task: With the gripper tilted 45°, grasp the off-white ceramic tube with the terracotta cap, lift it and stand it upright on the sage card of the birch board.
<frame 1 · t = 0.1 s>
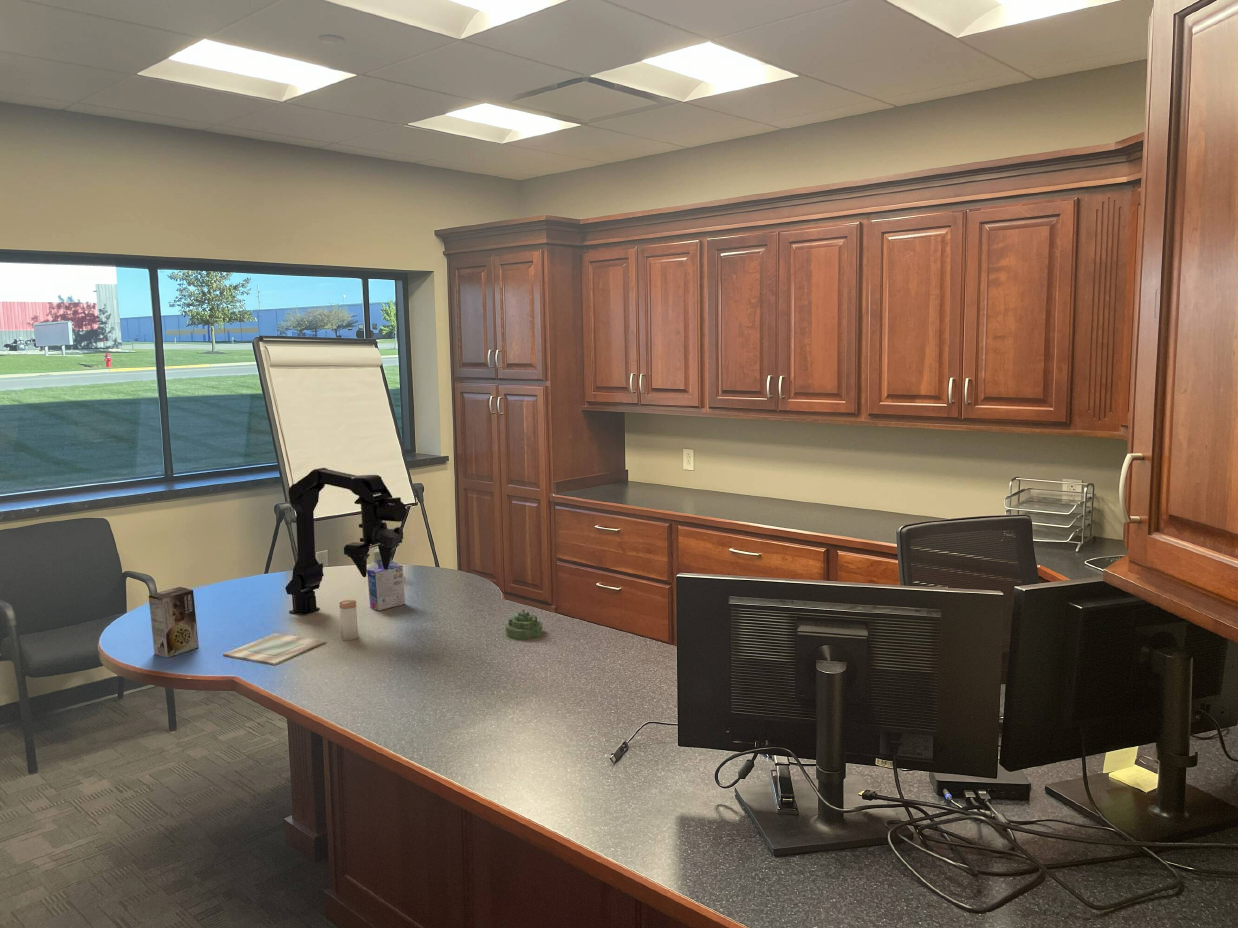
hand: (375, 573, 258), 15 cm above the table, tool pointing down, fingers open, 9 cm apart
air freshener: (383, 578, 309), on the table
tube: (349, 637, 246), on the table
ink cartridge box: (387, 606, 276), on the table
target board: (275, 649, 238), on the table
decorative artifact: (524, 634, 247), on the table
brown food box: (176, 651, 238), on the table
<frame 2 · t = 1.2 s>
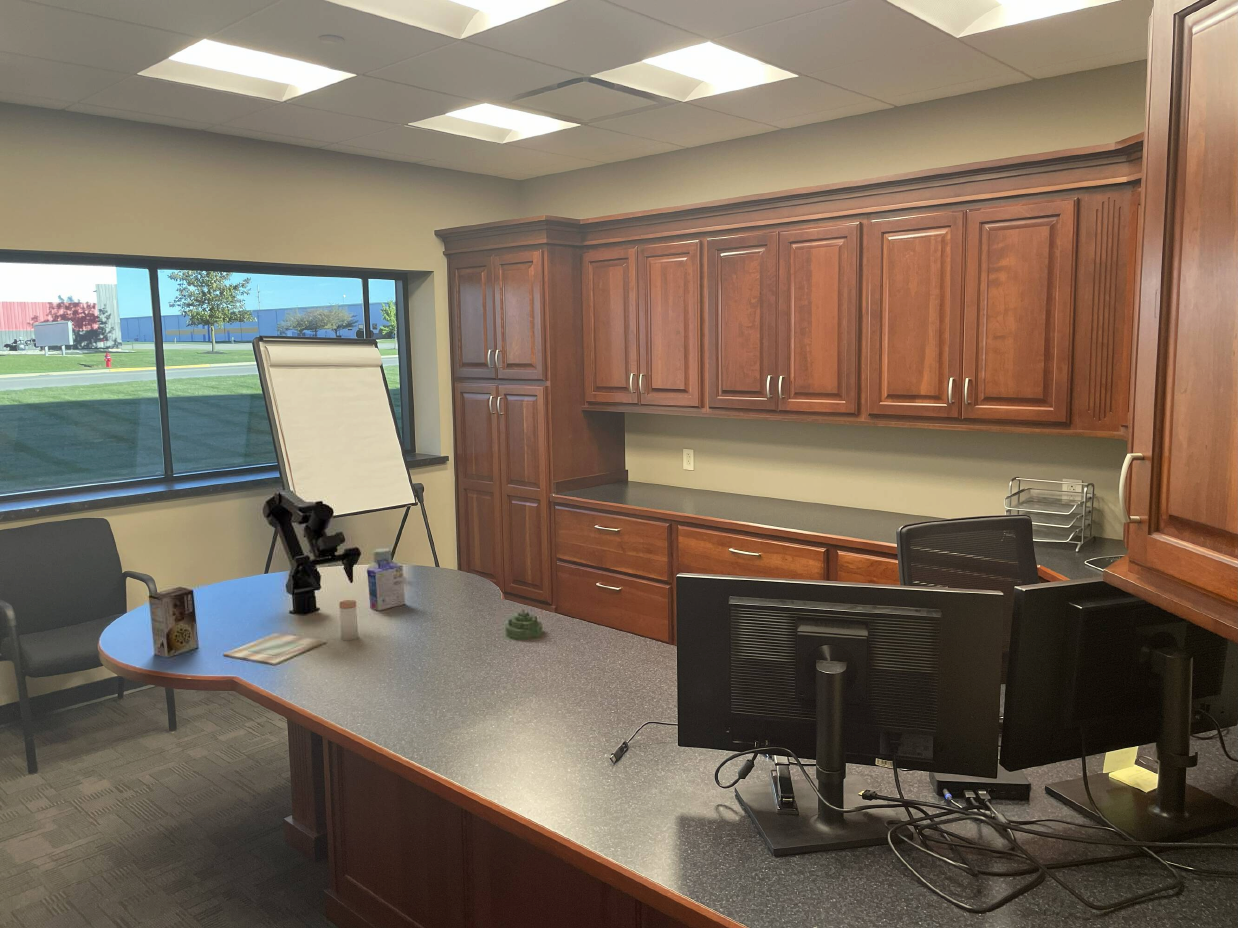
hand: (336, 585, 250), 13 cm above the table, tool tilted 45°, fingers open, 9 cm apart
nothing on the table moved.
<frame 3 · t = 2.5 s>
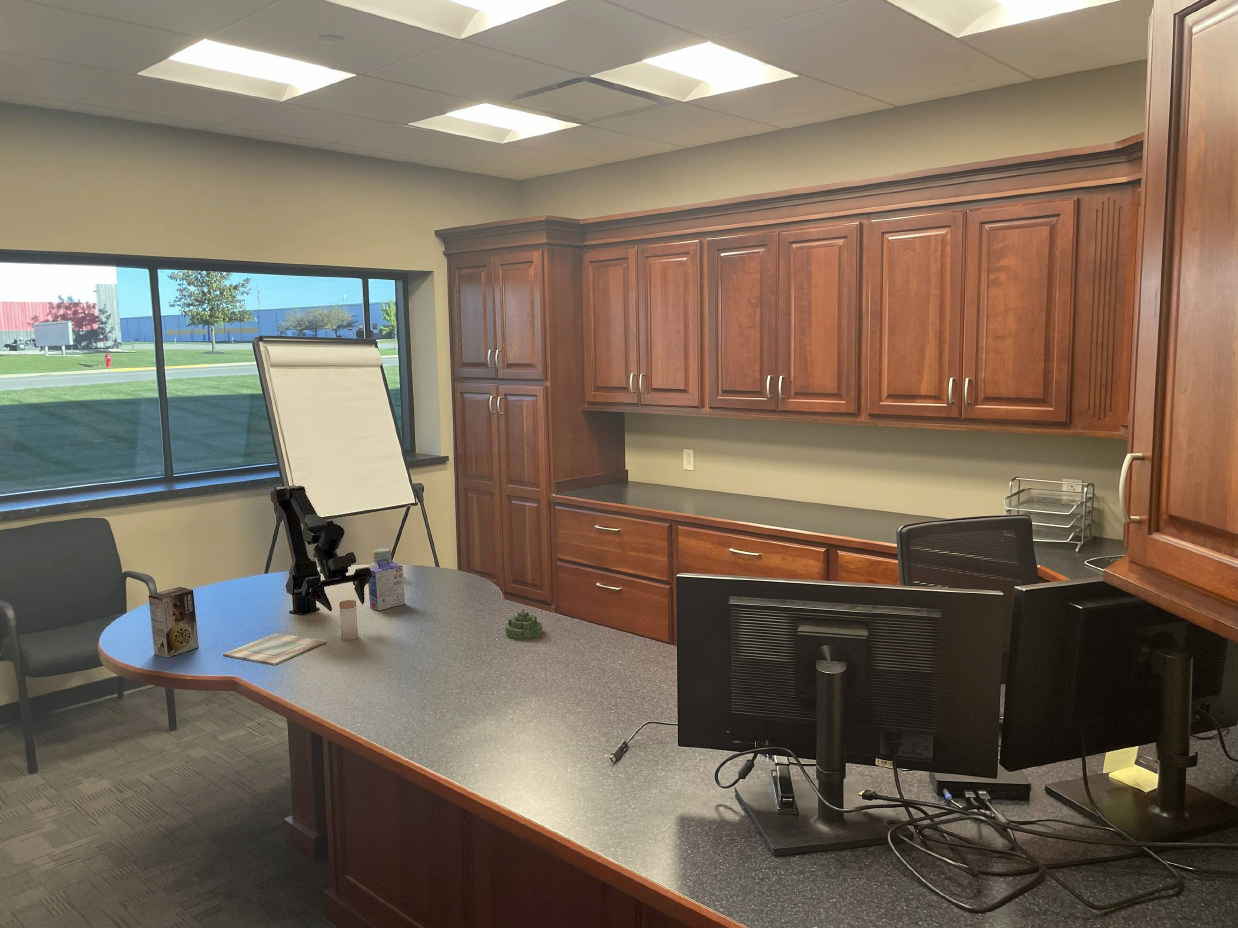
hand: (347, 606, 246), 9 cm above the table, tool tilted 45°, fingers open, 9 cm apart
nothing on the table moved.
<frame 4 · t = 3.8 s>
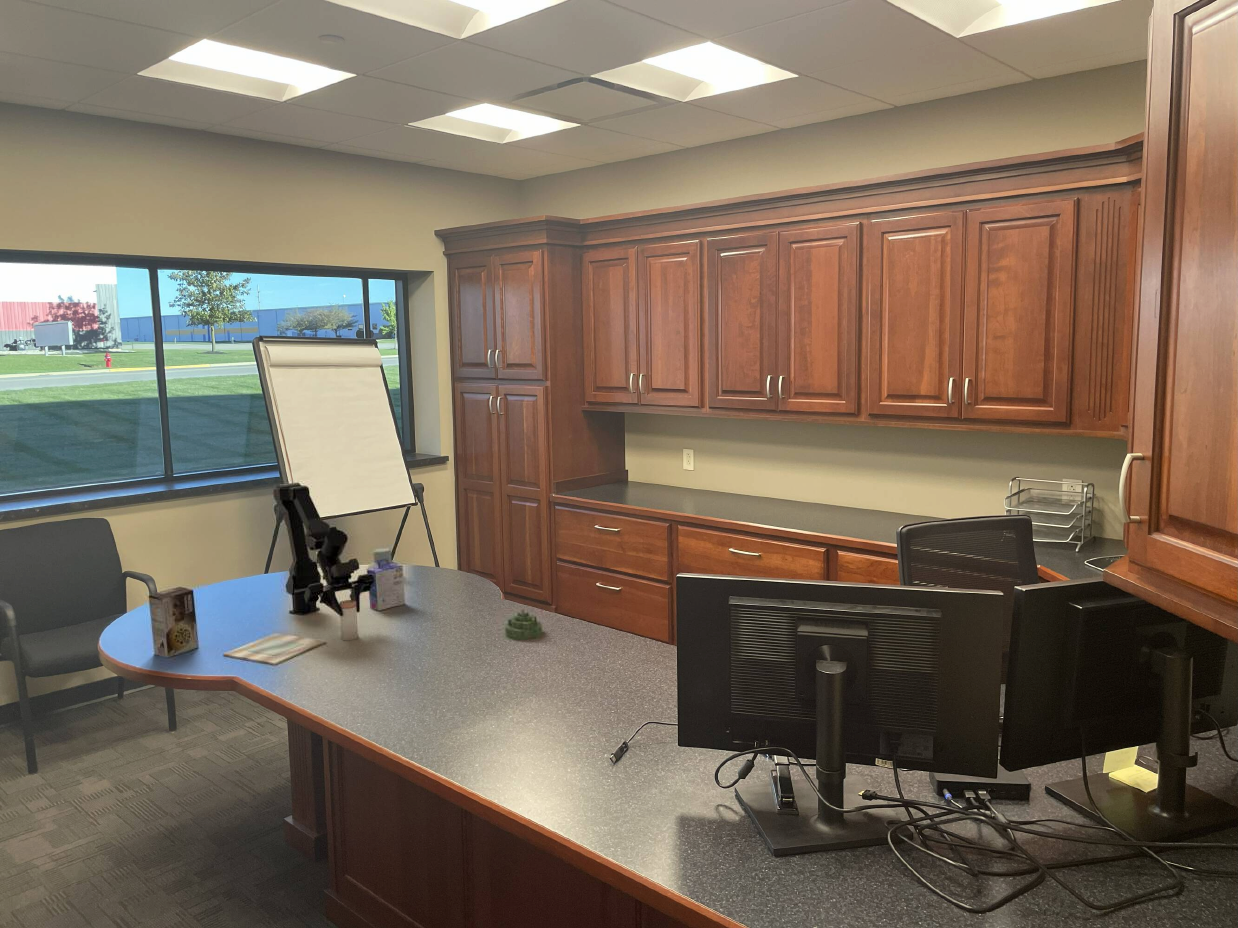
hand: (350, 613, 244), 7 cm above the table, tool tilted 45°, fingers closed on tube, 4 cm apart
tube: (349, 637, 246), on the table, touching gripper
everything else where it was.
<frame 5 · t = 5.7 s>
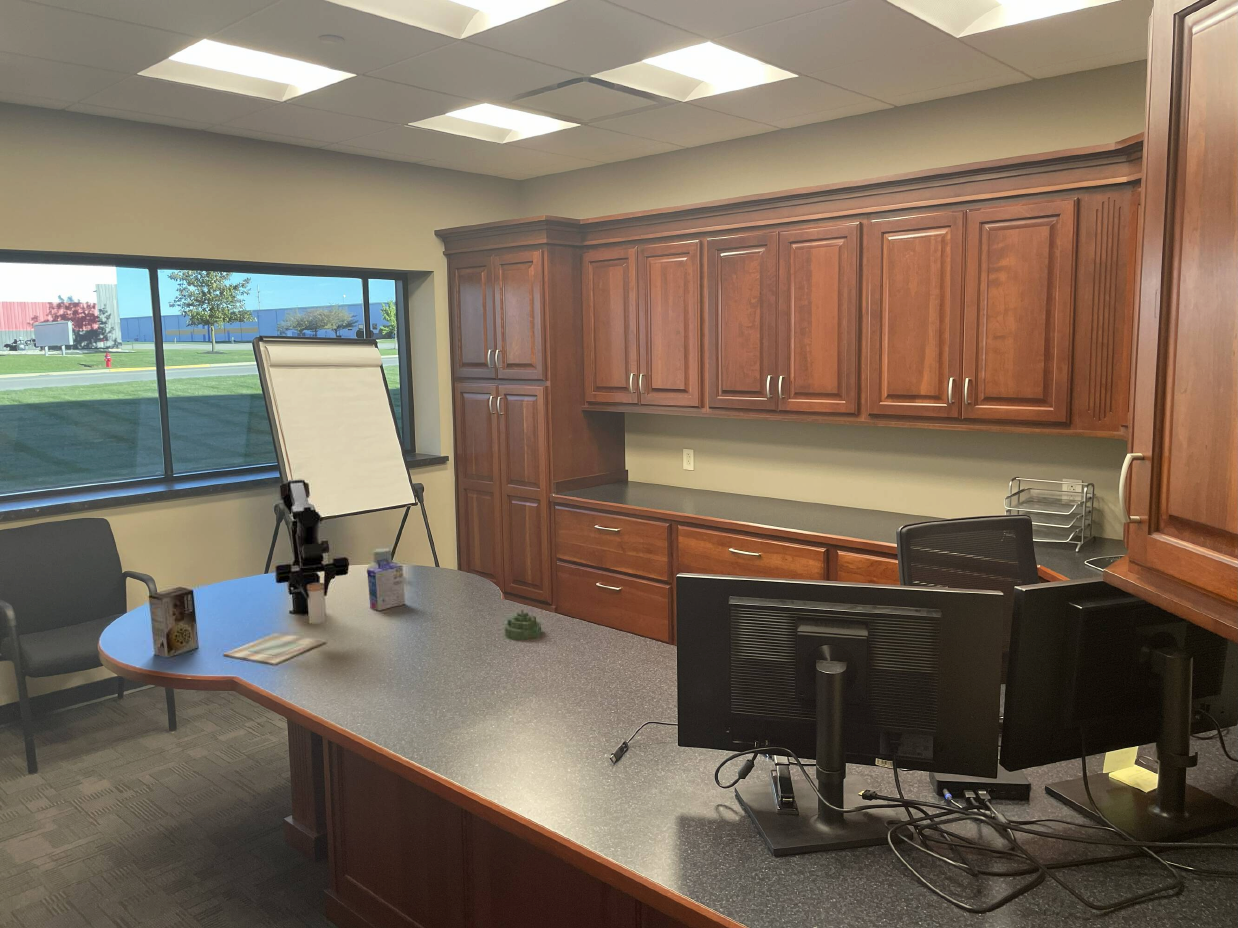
hand: (316, 596, 239), 13 cm above the table, tool tilted 45°, fingers closed on tube, 4 cm apart
tube: (317, 620, 241), point 6 cm above the table, touching gripper
everything else where it was.
when the fingers open (9 cm above the table, at t = 8.0 s): tube stays where it is, resting on target board.
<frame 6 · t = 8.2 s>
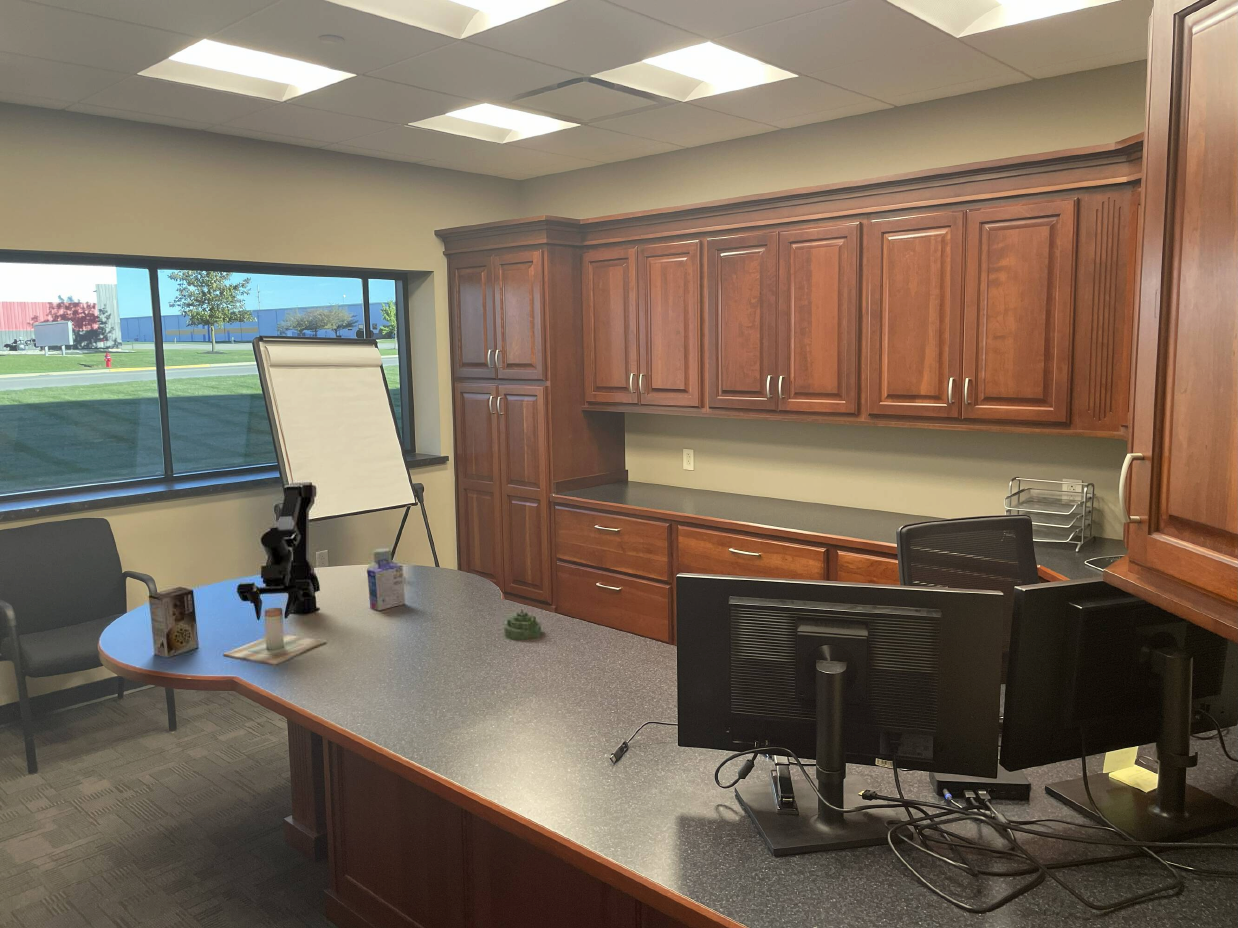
hand: (271, 618, 236), 9 cm above the table, tool tilted 45°, fingers open, 7 cm apart
tube: (274, 646, 238), point 1 cm above the table, touching target board
everything else where it was.
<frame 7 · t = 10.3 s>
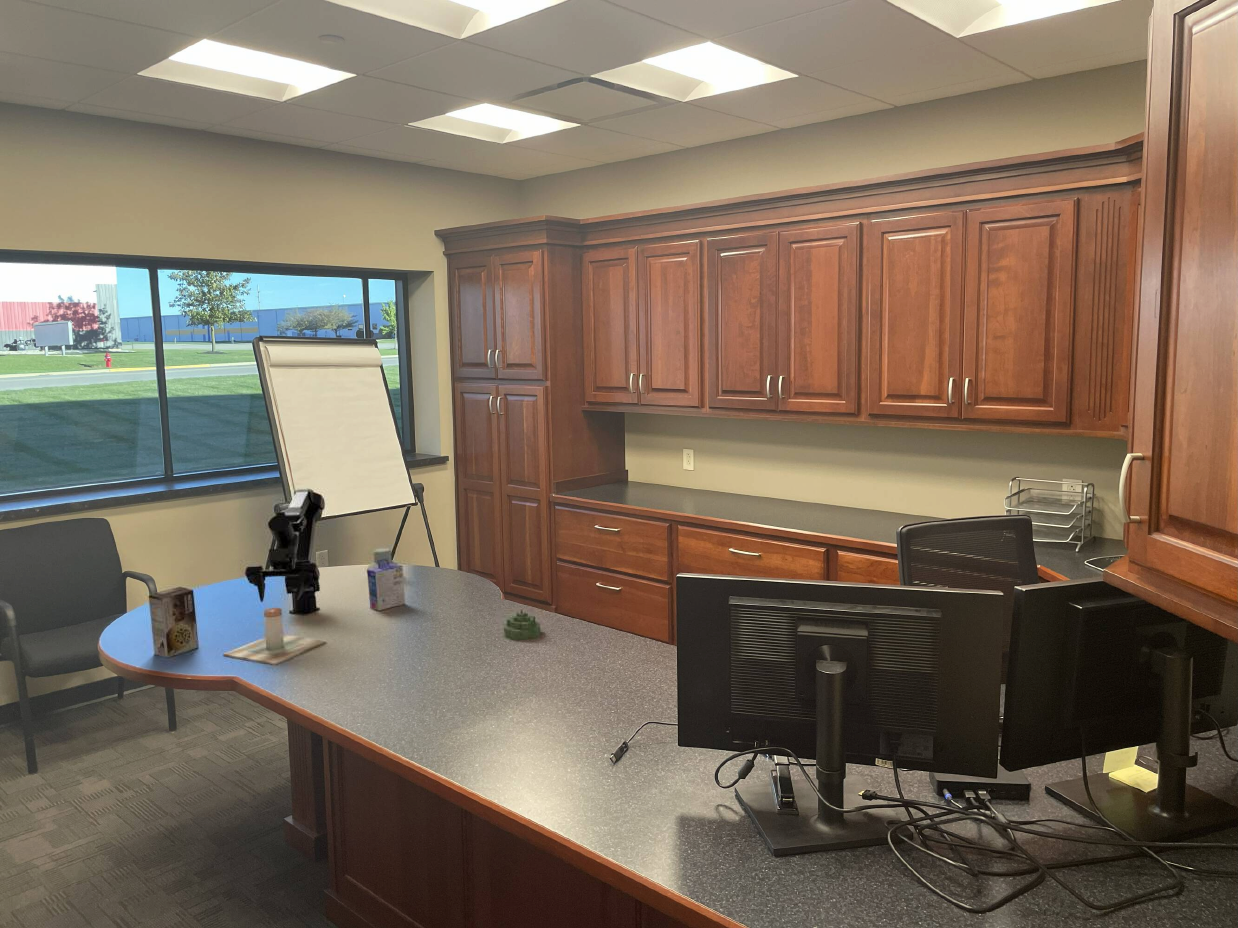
hand: (279, 600, 244), 11 cm above the table, tool tilted 45°, fingers open, 9 cm apart
nothing on the table moved.
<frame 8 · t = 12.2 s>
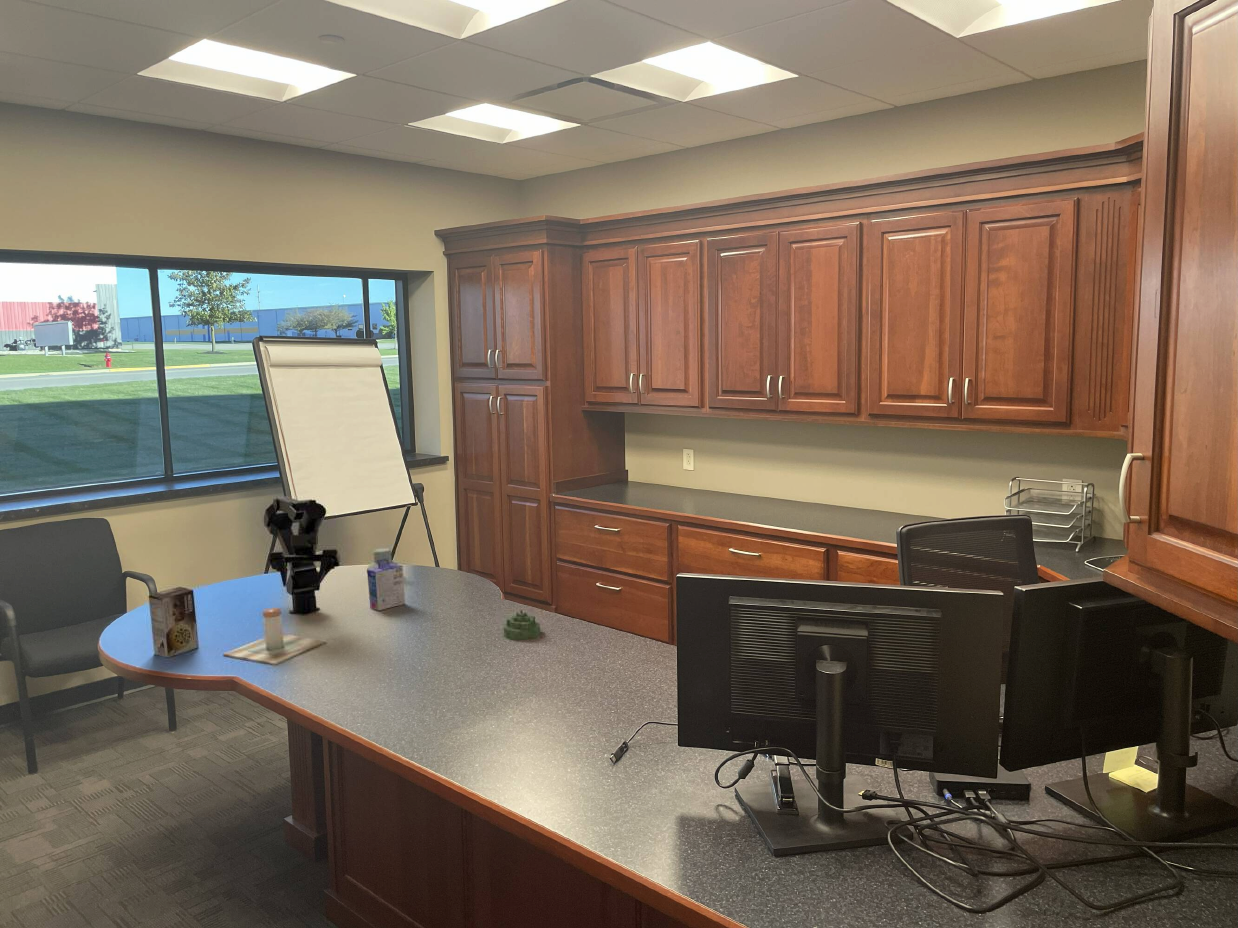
hand: (301, 585, 250), 14 cm above the table, tool tilted 45°, fingers open, 9 cm apart
nothing on the table moved.
at the end: tube inside the target area on the target board (0.1 cm from its centre), point 0.7 cm above the target board's base; tube tilted 1°; the gripper is holding nothing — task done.
